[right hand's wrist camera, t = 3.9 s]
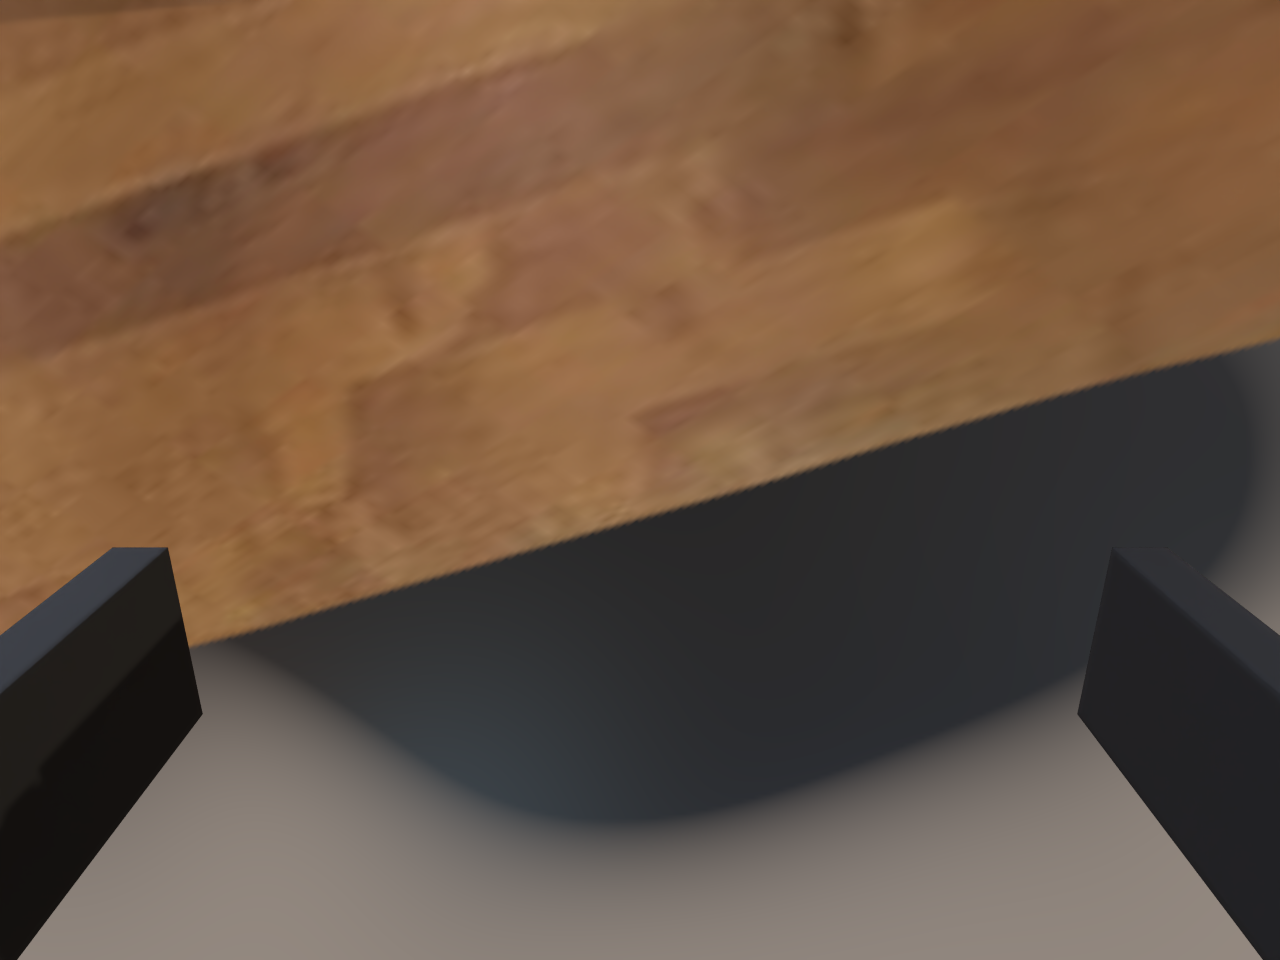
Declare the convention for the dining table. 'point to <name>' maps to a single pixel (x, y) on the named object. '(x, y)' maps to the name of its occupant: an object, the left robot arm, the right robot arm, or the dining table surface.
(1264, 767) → the right robot arm
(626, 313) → the dining table surface
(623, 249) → the dining table surface
